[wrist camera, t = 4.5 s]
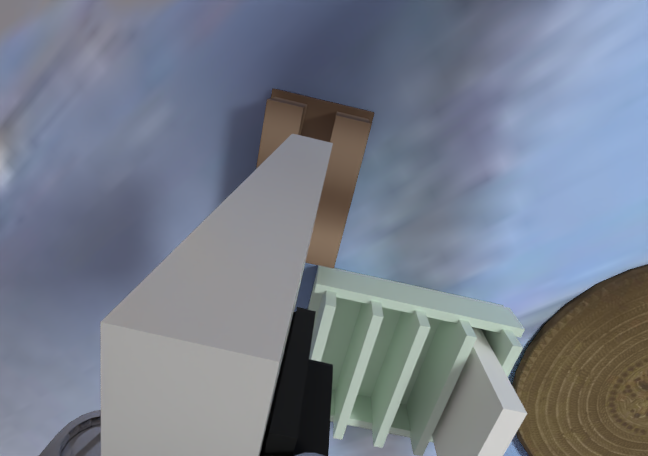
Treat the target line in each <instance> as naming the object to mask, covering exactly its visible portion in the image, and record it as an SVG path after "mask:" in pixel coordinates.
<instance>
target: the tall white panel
mask: <svg viewBox="0 0 648 456" xmlns="http://www.w3.org/2000/svg"><path fill="white" fill-rule="evenodd" d="M332 146H333V143H330V142H326V141H322V140H317V139H313V138H309V137H305V136H301V135H297V134H291V135H290V136H289V137H288V138H287V139H286V140H285V141H284V142H283V143H282V144H281V145H280V146H279V147H278V148H277V149H276V150H275V151H274V152H273V153H272V154H271V155H270V156H269V157H268V158H267V159H266V160H265V161H264V162H263V163H262V164H261V165H260V166H259V167H258V168H257V169H256V170H255V171H254V172H253V173H252V174H251V175H250V176H249V177H248V178H247V179H246V180H245V181H244V182H243V183H241V184H240V185H239V186H238V187H237V188H236V189H235V190H234V191H233V192H232V193H231V194H230V195H229V196H228V197H227V198H226V199H225V200H224V201H223V202H222V203H221V204H220V205H219V206H218V207H217V208H216V209H215V210H214V211H213V212H212V213H211V214H210V215H209V216H208V217H207V218H206V219H205V220H204V221H203V222H202V223H201V224H200V225H199V226H198V227H197V228H196V229H195V230H194V231H193V232H192V233H191V234H190V235H189V236H188V237H187V238H186V239H185V240H184V241H182V242H181V243H180V244H179V245H178V246H177V247H176V248H175V249H174V250H173V251H172V252H171V253H170V254H169V255H168V256H167V257H166V258H165V259H164V260H163V261H162V262H161V263H160V264H159V265H158V266H157V267H156V268H155V269H154V270H153V271H152V272H151V273H150V274H149V275H148V276H147V277H146V278H145V279H144V280H143V281H142V282H141V283H140V284H139V285H138V286H137V287H136V288H135V289H134V290H133V291H132V292H131V293H130V294H129V295H128V296H127V297H126V298H125V299H123V300H122V301H121V302H120V303H119V304H118V305H117V306H116V307H115V308H114V309H113V310H112V311H111V312H110V313H109V314H108V315H107V316H106V317H105V318H104V319H103V320H102V321H101V456H260V452H261V447H262V443H263V439H264V434H265V430H266V426H267V422H268V417H269V413H270V409H271V405H272V400H273V396H274V392H275V388H276V384H277V379H278V375H279V371H280V367H281V362H282V358H283V354H284V350H285V346H286V341H287V337H288V333H289V329H290V324H291V320H292V316H293V312H294V309H295V305H296V301H297V297H298V292H299V288H300V284H301V279H302V275H303V271H304V266H305V262H306V258H307V253H308V249H309V245H310V240H311V236H312V232H313V228H314V223H315V219H316V215H317V210H318V206H319V202H320V197H321V193H322V189H323V184H324V180H325V176H326V171H327V167H328V163H329V158H330V154H331V150H332Z"/></svg>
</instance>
